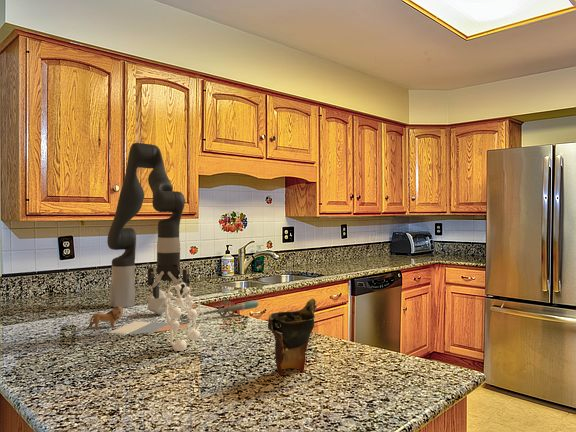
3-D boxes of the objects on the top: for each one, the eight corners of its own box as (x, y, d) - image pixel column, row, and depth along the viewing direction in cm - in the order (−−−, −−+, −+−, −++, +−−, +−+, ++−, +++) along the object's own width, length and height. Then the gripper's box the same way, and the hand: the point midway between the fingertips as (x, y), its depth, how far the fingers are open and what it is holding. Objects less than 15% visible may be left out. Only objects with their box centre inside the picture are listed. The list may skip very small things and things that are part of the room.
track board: (89, 332, 154) (89, 331, 154) (117, 321, 170) (117, 320, 170) (167, 337, 148) (167, 336, 148) (188, 325, 164) (188, 324, 164)
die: (164, 318, 175) (165, 291, 175) (143, 317, 177) (143, 290, 177) (174, 313, 184) (174, 288, 184) (153, 312, 185) (153, 287, 185)
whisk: (174, 331, 171) (170, 313, 172) (250, 315, 189) (246, 299, 190) (183, 326, 162) (180, 307, 164) (262, 310, 180) (258, 293, 182)
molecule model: (196, 272, 134) (186, 271, 136) (159, 298, 123) (149, 296, 126) (213, 329, 140) (203, 327, 143) (179, 359, 130) (169, 356, 132)
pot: (297, 363, 123) (297, 295, 123) (332, 372, 116) (332, 300, 116) (251, 381, 110) (251, 305, 110) (289, 393, 103) (289, 311, 103)
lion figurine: (122, 325, 165) (121, 304, 165) (124, 327, 161) (124, 306, 161) (85, 329, 159) (85, 307, 159) (86, 332, 155) (86, 310, 155)
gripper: (143, 251, 154) (143, 300, 155) (183, 252, 151) (183, 302, 152) (154, 249, 162) (154, 295, 162) (193, 250, 159) (192, 297, 159)
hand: (168, 298), depth 157 cm, fingers open, 8 cm apart
